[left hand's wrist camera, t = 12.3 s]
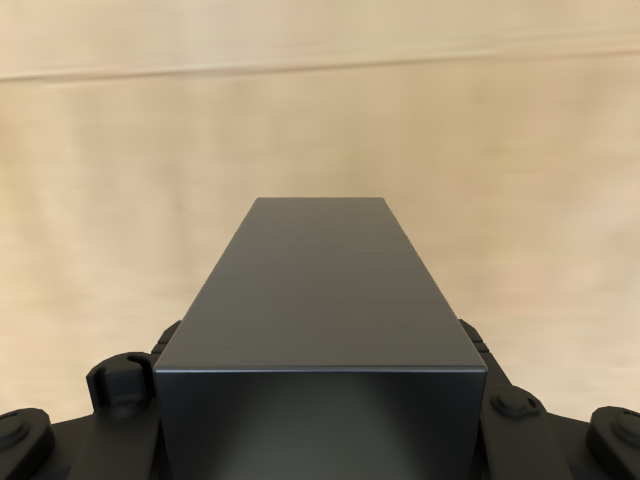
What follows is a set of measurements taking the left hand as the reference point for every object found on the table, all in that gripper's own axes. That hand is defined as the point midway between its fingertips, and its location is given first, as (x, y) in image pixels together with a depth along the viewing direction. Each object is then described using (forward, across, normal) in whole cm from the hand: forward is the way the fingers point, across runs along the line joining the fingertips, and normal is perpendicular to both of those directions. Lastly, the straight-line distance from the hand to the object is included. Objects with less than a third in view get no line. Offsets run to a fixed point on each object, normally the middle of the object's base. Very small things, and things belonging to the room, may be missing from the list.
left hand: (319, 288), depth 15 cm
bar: (+1, 0, -14) cm, 14 cm away
